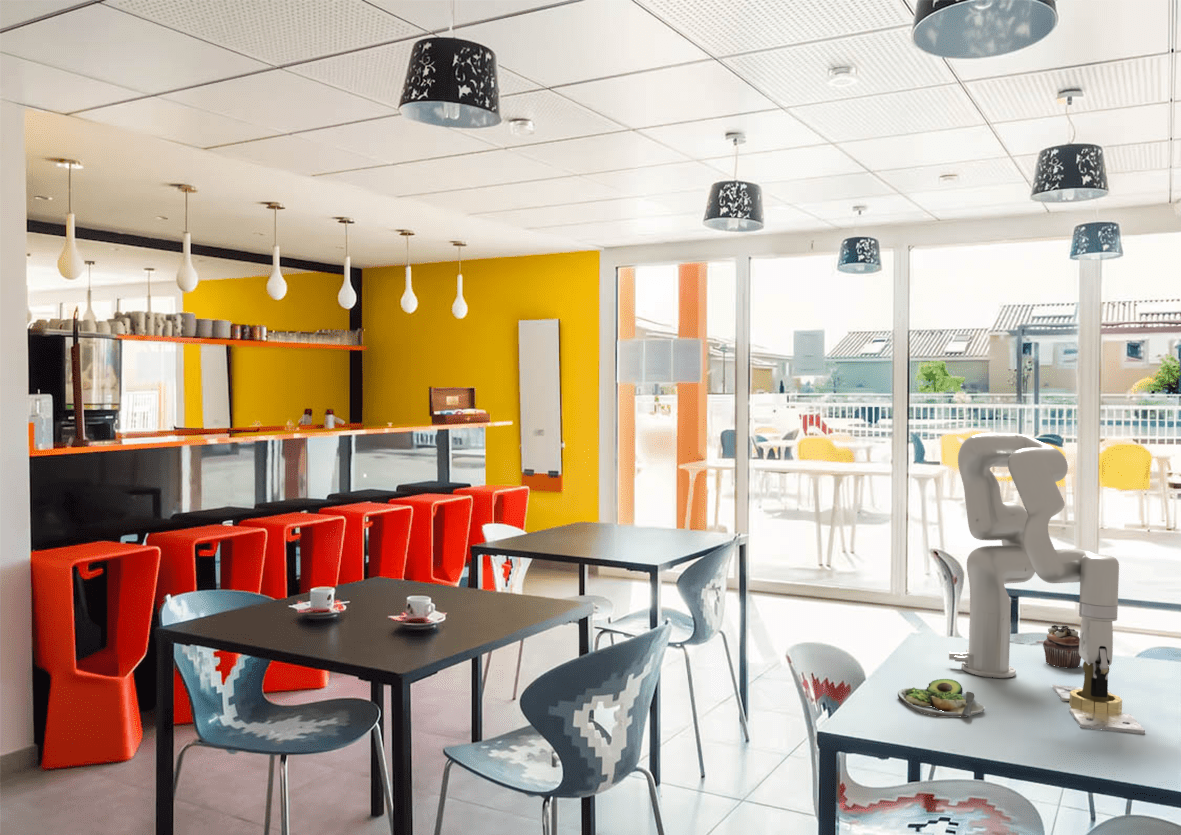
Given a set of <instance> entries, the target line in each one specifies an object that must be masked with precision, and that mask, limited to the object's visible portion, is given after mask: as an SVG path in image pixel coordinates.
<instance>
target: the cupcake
mask: <svg viewBox="0 0 1181 835" xmlns="http://www.w3.org/2000/svg"><path fill="white" fill-rule="evenodd" d="M1047 631H1048V634H1047V635H1046V638H1045V639H1044V641H1043V642H1042V646H1043V651H1044V656H1045V662H1047V663H1049V664H1048V665H1050V664H1052V665H1055V666H1054V667H1056V666H1059V667H1058V668H1061V667H1067V668H1066V669H1075V668H1074V667H1078V666H1079V667H1080V666H1081V661H1082V658H1081V656H1080V655H1079V641H1080V635H1079V631H1078V630H1075V629H1074V628H1070V627H1069V626H1068V625H1062V626H1059V625H1057V624H1054V625H1052V626H1050V627H1049V628H1048V629H1047ZM1047 663H1046V664H1047ZM1052 665H1051V666H1052ZM1079 667H1078V668H1079Z"/></svg>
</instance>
